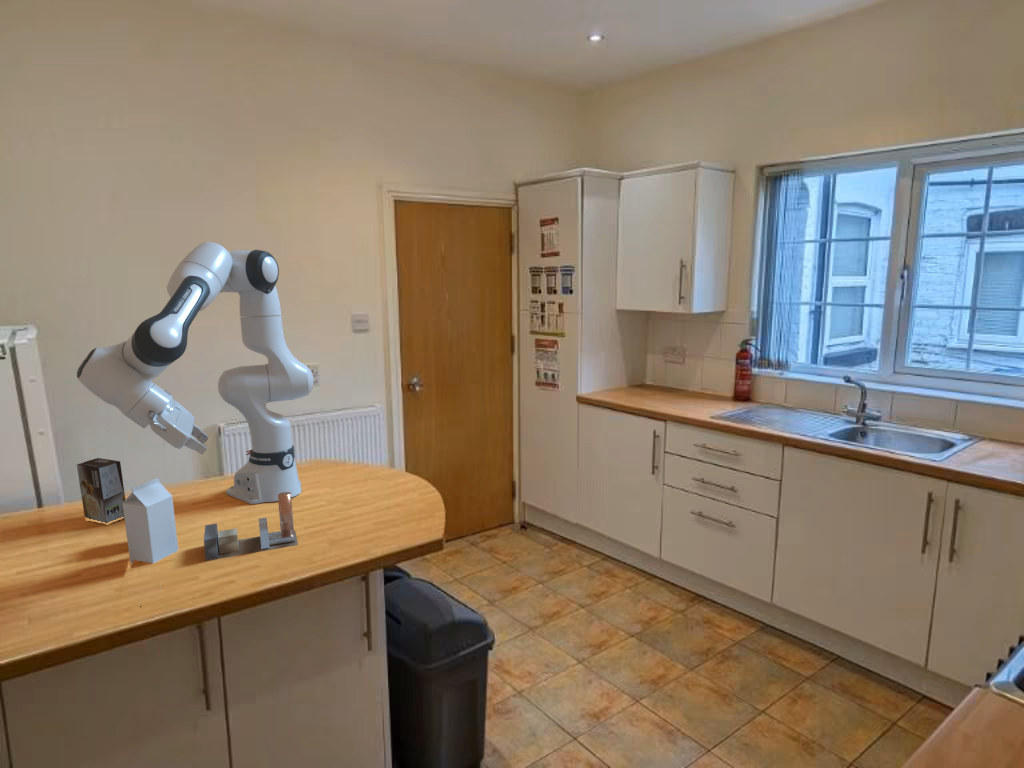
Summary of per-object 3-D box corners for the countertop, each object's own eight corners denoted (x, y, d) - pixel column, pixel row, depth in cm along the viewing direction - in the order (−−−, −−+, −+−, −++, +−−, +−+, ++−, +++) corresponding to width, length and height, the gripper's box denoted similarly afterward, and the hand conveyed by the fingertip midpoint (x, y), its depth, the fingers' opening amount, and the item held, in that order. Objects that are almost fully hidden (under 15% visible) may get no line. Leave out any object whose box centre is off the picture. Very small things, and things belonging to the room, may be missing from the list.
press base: (206, 566, 146) (203, 540, 144) (208, 550, 154) (205, 525, 152) (298, 550, 153) (296, 525, 152) (295, 536, 161) (293, 511, 160)
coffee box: (129, 517, 175) (122, 460, 171) (107, 526, 169) (99, 467, 166) (106, 512, 178) (98, 457, 175) (83, 521, 172) (75, 464, 169)
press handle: (261, 549, 150) (257, 503, 148) (260, 535, 157) (256, 492, 155) (295, 543, 153) (292, 498, 151) (293, 530, 160) (289, 488, 158)
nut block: (219, 553, 149) (218, 537, 148) (220, 546, 152) (218, 531, 152) (238, 550, 150) (236, 534, 149) (238, 543, 154) (236, 528, 153)
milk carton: (179, 556, 151) (170, 479, 148) (153, 569, 145) (143, 489, 141) (156, 551, 153) (147, 476, 150) (130, 565, 147) (119, 486, 143)
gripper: (157, 406, 131) (214, 446, 136) (166, 389, 149) (216, 425, 155) (134, 429, 130) (193, 469, 136) (147, 409, 148) (198, 445, 154)
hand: (205, 445), depth 145 cm, fingers open, 8 cm apart
